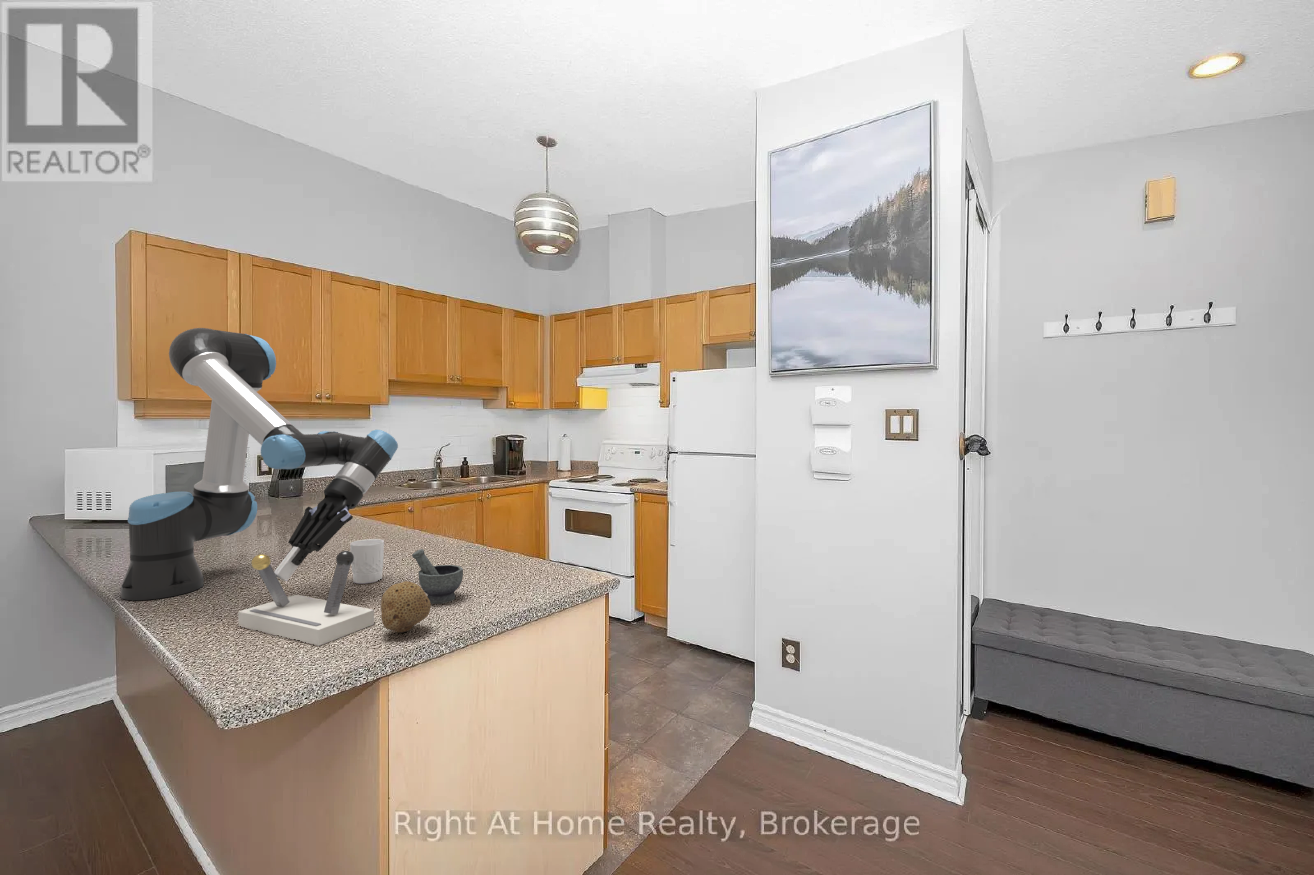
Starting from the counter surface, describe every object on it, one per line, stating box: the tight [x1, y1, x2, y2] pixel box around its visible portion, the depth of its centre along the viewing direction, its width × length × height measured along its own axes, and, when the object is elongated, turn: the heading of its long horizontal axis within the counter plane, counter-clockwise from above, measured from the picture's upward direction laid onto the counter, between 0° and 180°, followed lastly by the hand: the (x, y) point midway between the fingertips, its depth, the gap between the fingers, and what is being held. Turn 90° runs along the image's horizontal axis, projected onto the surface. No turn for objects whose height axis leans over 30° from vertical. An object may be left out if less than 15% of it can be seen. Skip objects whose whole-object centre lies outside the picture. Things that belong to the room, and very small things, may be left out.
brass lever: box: [250, 553, 290, 607], centre depth 115 cm, size 3×3×12 cm
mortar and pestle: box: [411, 548, 464, 605], centre depth 131 cm, size 11×9×12 cm
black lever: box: [324, 550, 354, 614], centre depth 113 cm, size 3×3×12 cm
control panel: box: [237, 594, 375, 647], centre depth 114 cm, size 12×24×3 cm, turn 67°
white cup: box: [349, 538, 385, 585], centre depth 146 cm, size 8×8×10 cm
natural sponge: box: [380, 580, 432, 634], centre depth 111 cm, size 9×9×10 cm
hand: (279, 577), depth 116 cm, fingers closed
